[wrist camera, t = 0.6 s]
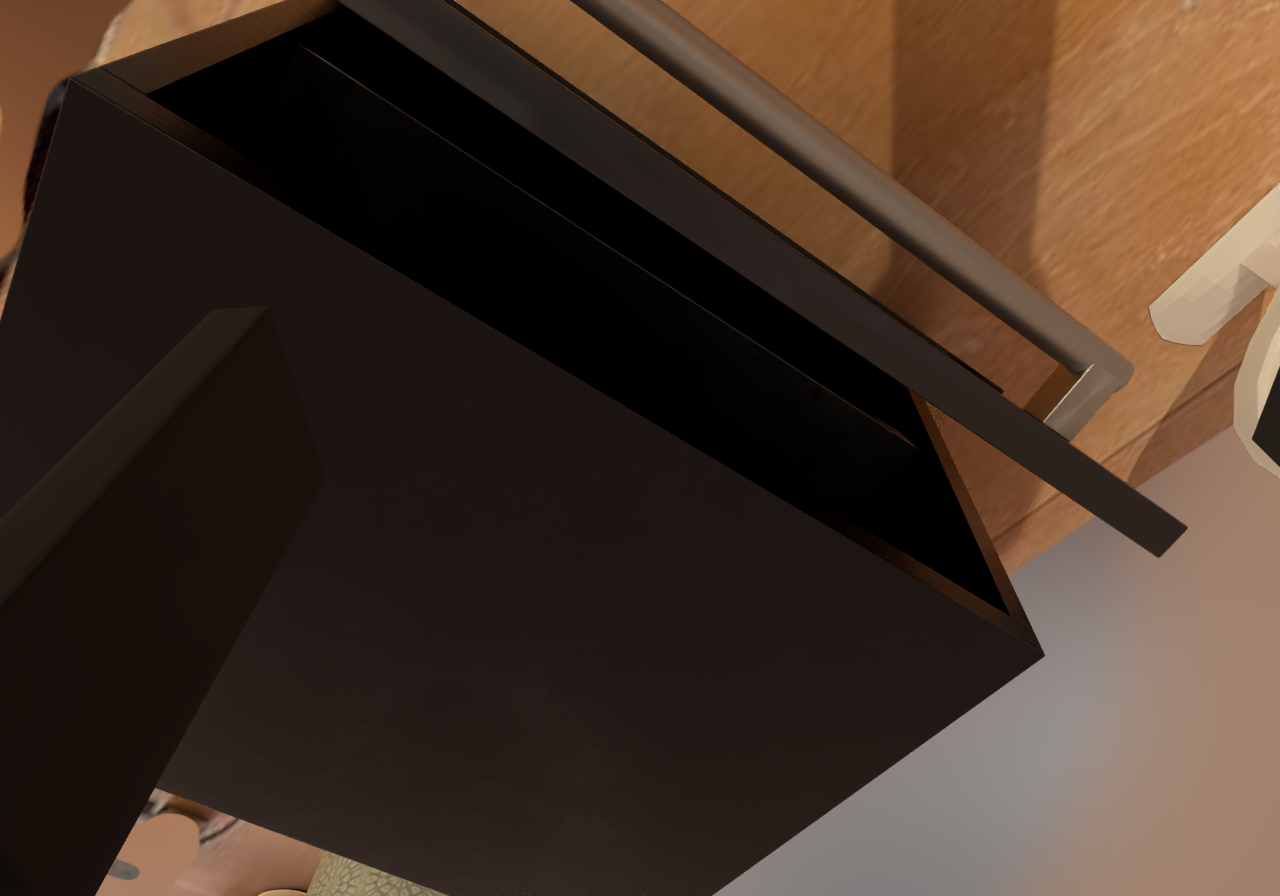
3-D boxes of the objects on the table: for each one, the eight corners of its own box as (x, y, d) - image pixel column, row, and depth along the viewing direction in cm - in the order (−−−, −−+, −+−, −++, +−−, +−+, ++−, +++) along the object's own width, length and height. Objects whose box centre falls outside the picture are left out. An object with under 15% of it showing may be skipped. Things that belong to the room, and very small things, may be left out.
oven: (350, -24, 46) (68, 75, 24) (905, 360, 58) (1046, 656, 36) (167, 400, 61) (-107, 692, 40) (636, 636, 73) (622, 960, 51)
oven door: (399, -128, 44) (228, -355, 21) (963, 291, 56) (1264, 450, 32) (350, -28, 46) (139, -134, 22) (910, 359, 57) (1159, 559, 34)
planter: (420, 674, 76) (355, 885, 61) (611, 768, 83) (597, 980, 67) (317, 785, 86) (237, 992, 70) (495, 862, 93) (459, 1067, 77)
